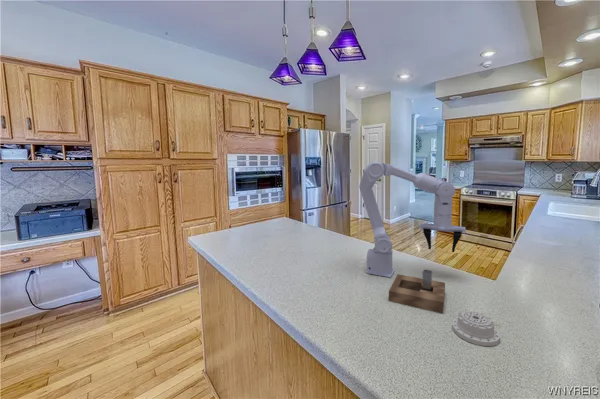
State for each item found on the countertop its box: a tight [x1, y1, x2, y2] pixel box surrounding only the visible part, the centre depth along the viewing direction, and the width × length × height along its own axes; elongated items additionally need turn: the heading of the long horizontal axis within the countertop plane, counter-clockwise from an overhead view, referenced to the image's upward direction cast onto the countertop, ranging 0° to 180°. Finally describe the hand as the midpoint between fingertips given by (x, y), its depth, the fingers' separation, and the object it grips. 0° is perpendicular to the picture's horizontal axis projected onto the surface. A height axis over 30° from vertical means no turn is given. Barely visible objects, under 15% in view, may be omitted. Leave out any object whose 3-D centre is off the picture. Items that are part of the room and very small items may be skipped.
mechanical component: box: [451, 309, 501, 347], centre depth 65 cm, size 10×4×10 cm
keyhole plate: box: [388, 273, 446, 314], centre depth 83 cm, size 15×14×3 cm
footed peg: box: [419, 269, 433, 292], centre depth 82 cm, size 5×5×9 cm
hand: (441, 249), depth 96 cm, fingers open, 7 cm apart
